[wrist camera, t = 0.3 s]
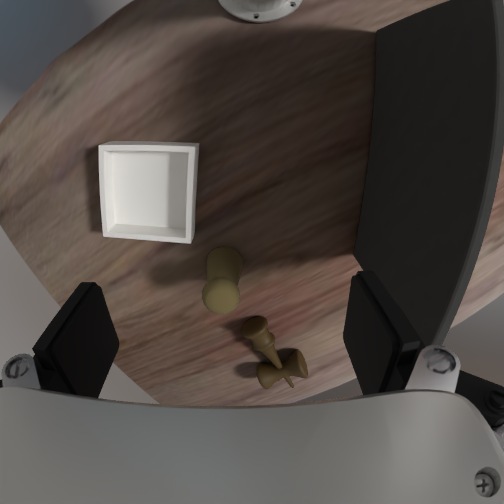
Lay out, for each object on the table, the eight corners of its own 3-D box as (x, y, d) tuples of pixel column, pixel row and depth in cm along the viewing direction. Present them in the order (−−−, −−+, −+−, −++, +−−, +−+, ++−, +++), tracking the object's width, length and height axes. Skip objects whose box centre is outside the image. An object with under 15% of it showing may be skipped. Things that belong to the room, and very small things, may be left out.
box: (109, 141, 41) (98, 145, 37) (199, 143, 42) (195, 146, 38) (112, 226, 47) (103, 236, 44) (194, 232, 48) (190, 243, 45)
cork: (214, 283, 52) (208, 325, 43) (200, 253, 50) (190, 291, 40) (248, 273, 52) (249, 314, 42) (235, 241, 49) (233, 278, 39)
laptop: (465, 255, 52) (546, 338, 28) (349, 253, 51) (417, 371, 27) (495, 75, 35) (609, 92, 11) (372, 29, 34) (489, -17, 10)
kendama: (276, 304, 56) (312, 370, 63) (229, 322, 57) (272, 383, 65) (278, 325, 50) (316, 391, 58) (227, 343, 52) (273, 404, 60)
